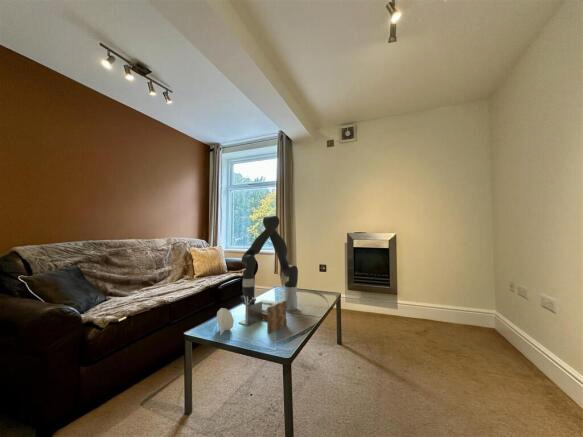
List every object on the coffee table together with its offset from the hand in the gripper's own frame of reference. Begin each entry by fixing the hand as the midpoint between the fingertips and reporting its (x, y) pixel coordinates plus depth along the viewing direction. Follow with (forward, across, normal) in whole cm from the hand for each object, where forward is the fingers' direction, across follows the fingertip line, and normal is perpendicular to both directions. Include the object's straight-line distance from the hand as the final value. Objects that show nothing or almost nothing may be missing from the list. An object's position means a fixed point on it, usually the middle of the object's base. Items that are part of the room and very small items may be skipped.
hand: (248, 311), depth 157 cm
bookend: (+6, -5, 0) cm, 8 cm away
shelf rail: (+6, -9, -8) cm, 14 cm away
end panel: (+6, -24, -1) cm, 24 cm away
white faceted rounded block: (+6, -3, +22) cm, 23 cm away
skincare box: (+3, -3, -21) cm, 22 cm away
